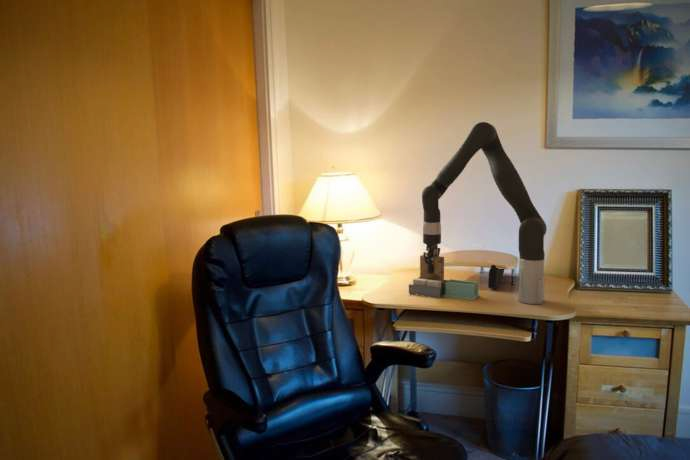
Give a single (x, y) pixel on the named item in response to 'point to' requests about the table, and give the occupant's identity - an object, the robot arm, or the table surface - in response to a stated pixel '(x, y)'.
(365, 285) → the table surface
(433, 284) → the offcut
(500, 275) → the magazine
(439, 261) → the walnut panel
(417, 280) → the offcut
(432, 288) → the offcut rack
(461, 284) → the green rectangular block
